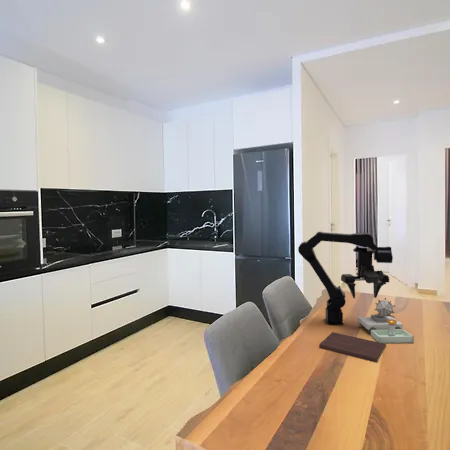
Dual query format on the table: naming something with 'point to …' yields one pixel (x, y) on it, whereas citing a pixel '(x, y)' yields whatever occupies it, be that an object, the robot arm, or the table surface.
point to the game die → (384, 307)
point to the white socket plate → (377, 322)
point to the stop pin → (391, 327)
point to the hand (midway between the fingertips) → (364, 297)
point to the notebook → (353, 346)
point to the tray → (399, 337)
